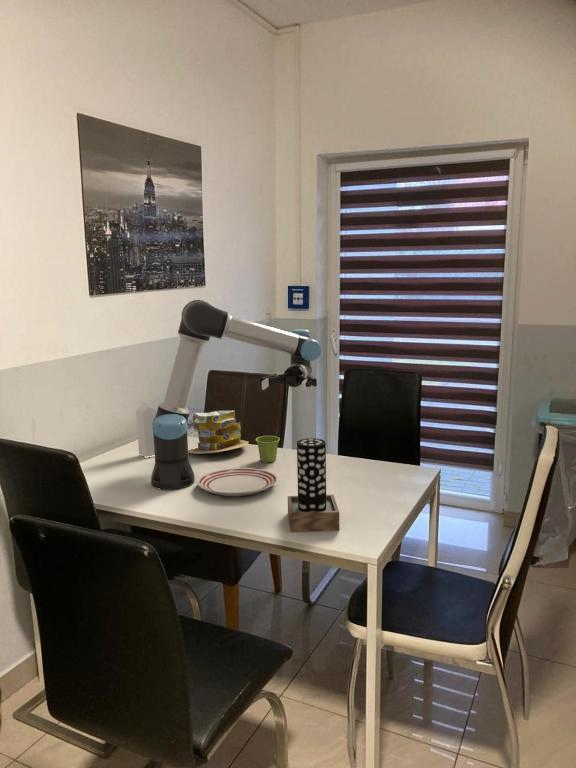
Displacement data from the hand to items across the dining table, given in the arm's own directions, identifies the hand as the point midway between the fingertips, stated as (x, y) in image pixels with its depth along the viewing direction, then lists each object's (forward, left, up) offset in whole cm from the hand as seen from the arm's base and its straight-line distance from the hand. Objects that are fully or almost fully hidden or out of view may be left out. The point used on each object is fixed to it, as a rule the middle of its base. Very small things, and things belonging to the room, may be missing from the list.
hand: (282, 386), depth 209 cm
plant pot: (-5, +30, -35) cm, 47 cm away
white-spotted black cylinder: (+7, -31, -31) cm, 44 cm away
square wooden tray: (+7, -31, -35) cm, 47 cm away
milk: (-53, +42, -35) cm, 76 cm away
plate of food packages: (-25, +46, -35) cm, 63 cm away
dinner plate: (-16, +1, -35) cm, 39 cm away
